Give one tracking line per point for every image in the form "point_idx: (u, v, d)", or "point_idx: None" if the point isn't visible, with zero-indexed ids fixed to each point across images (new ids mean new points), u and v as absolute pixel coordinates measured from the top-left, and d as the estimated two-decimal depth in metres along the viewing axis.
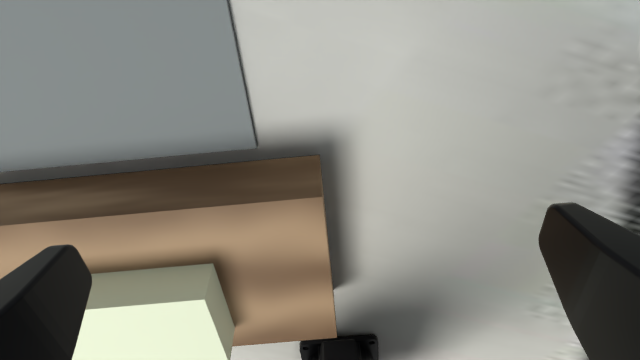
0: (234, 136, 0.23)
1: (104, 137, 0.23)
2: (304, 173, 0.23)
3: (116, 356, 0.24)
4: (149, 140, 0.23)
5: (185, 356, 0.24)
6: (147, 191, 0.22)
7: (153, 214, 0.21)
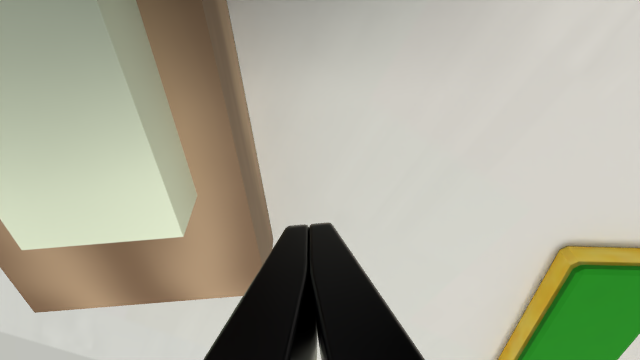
0: None
1: None
2: None
3: (108, 178, 0.13)
4: None
5: (76, 61, 0.11)
6: None
7: None
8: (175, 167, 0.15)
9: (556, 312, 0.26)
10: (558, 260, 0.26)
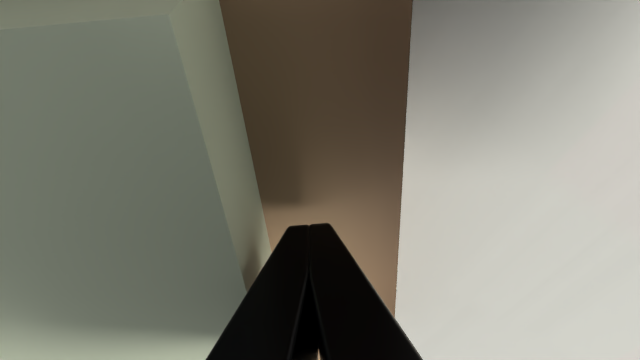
0: None
1: None
2: None
3: None
4: None
5: (134, 205, 0.05)
6: None
7: None
8: None
9: None
10: None
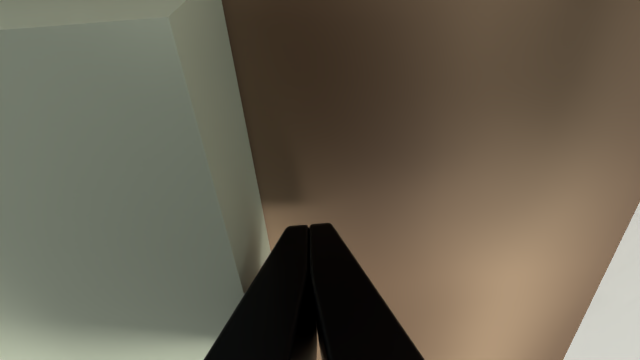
0: None
1: None
2: None
3: None
4: None
5: (133, 205, 0.06)
6: None
7: None
8: None
9: None
10: None
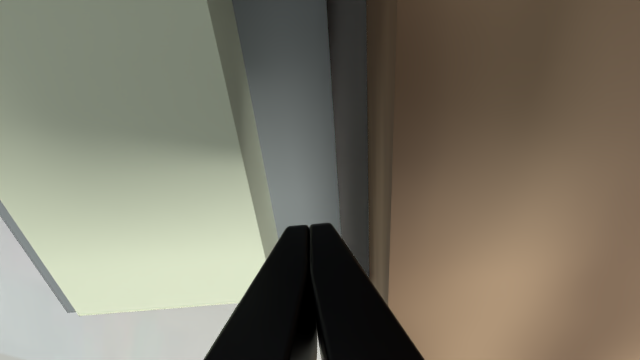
0: None
1: (282, 141, 0.12)
2: None
3: None
4: (288, 61, 0.11)
5: None
6: (379, 92, 0.09)
7: (405, 90, 0.07)
8: None
9: None
10: None
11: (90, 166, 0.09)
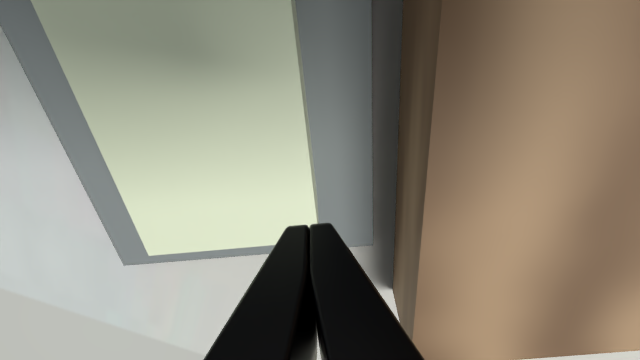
0: None
1: (326, 102, 0.14)
2: None
3: None
4: (335, 30, 0.13)
5: None
6: (417, 51, 0.11)
7: (446, 41, 0.09)
8: None
9: None
10: None
11: (177, 115, 0.11)
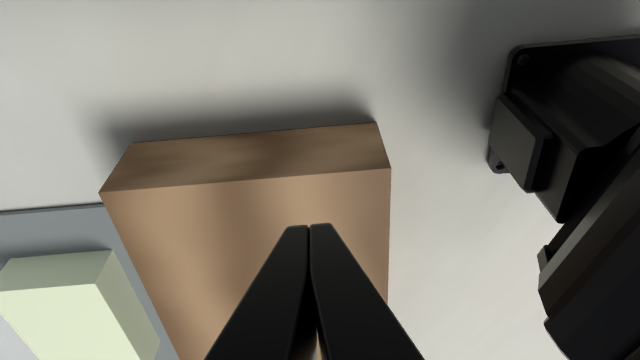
0: None
1: (151, 303, 0.27)
2: None
3: None
4: None
5: None
6: None
7: (164, 321, 0.22)
8: None
9: None
10: None
11: (61, 331, 0.24)
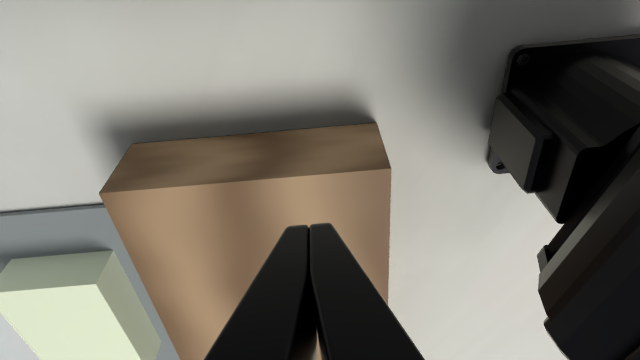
0: None
1: (152, 304, 0.27)
2: None
3: None
4: None
5: None
6: None
7: (165, 322, 0.22)
8: None
9: None
10: None
11: (62, 332, 0.24)
